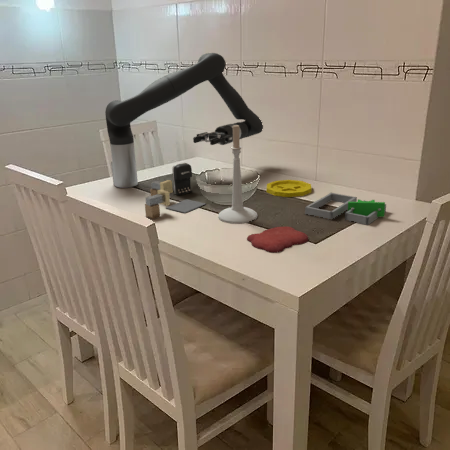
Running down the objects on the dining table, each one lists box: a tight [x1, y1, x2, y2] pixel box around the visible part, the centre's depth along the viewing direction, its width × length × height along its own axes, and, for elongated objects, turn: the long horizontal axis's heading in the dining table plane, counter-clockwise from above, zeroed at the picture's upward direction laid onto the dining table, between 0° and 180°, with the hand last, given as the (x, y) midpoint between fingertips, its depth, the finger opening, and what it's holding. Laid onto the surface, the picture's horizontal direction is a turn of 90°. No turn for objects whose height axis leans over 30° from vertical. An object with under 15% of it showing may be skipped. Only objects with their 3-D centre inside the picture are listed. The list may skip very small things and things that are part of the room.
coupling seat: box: [165, 199, 207, 214], centre depth 167 cm, size 9×11×1 cm
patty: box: [246, 226, 309, 254], centre depth 138 cm, size 18×14×2 cm
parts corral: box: [304, 192, 387, 226], centre depth 157 cm, size 21×19×2 cm
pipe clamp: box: [347, 198, 386, 218], centre depth 153 cm, size 11×4×5 cm, turn 76°
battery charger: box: [171, 162, 193, 196], centre depth 180 cm, size 7×4×11 cm, turn 126°
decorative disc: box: [265, 179, 313, 198], centre depth 182 cm, size 17×18×2 cm
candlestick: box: [217, 125, 258, 225], centre depth 151 cm, size 13×13×30 cm
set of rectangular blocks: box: [144, 179, 174, 220], centre depth 166 cm, size 8×23×8 cm, turn 2°
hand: (202, 141), depth 184 cm, fingers open, 8 cm apart
